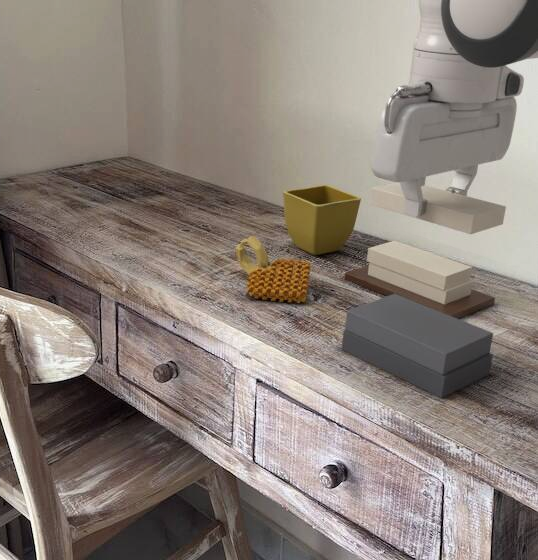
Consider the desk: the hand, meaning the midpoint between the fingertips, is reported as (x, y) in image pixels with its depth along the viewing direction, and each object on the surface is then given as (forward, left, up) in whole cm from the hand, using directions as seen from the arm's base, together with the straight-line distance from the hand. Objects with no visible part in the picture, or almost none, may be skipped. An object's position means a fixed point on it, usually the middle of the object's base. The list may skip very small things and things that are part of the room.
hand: (435, 209), depth 88 cm
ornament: (+25, 0, -18) cm, 31 cm away
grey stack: (-1, +2, -18) cm, 18 cm away
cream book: (0, 0, -1) cm, 1 cm away
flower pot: (+32, -17, -18) cm, 41 cm away
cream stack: (+12, -16, -18) cm, 27 cm away
